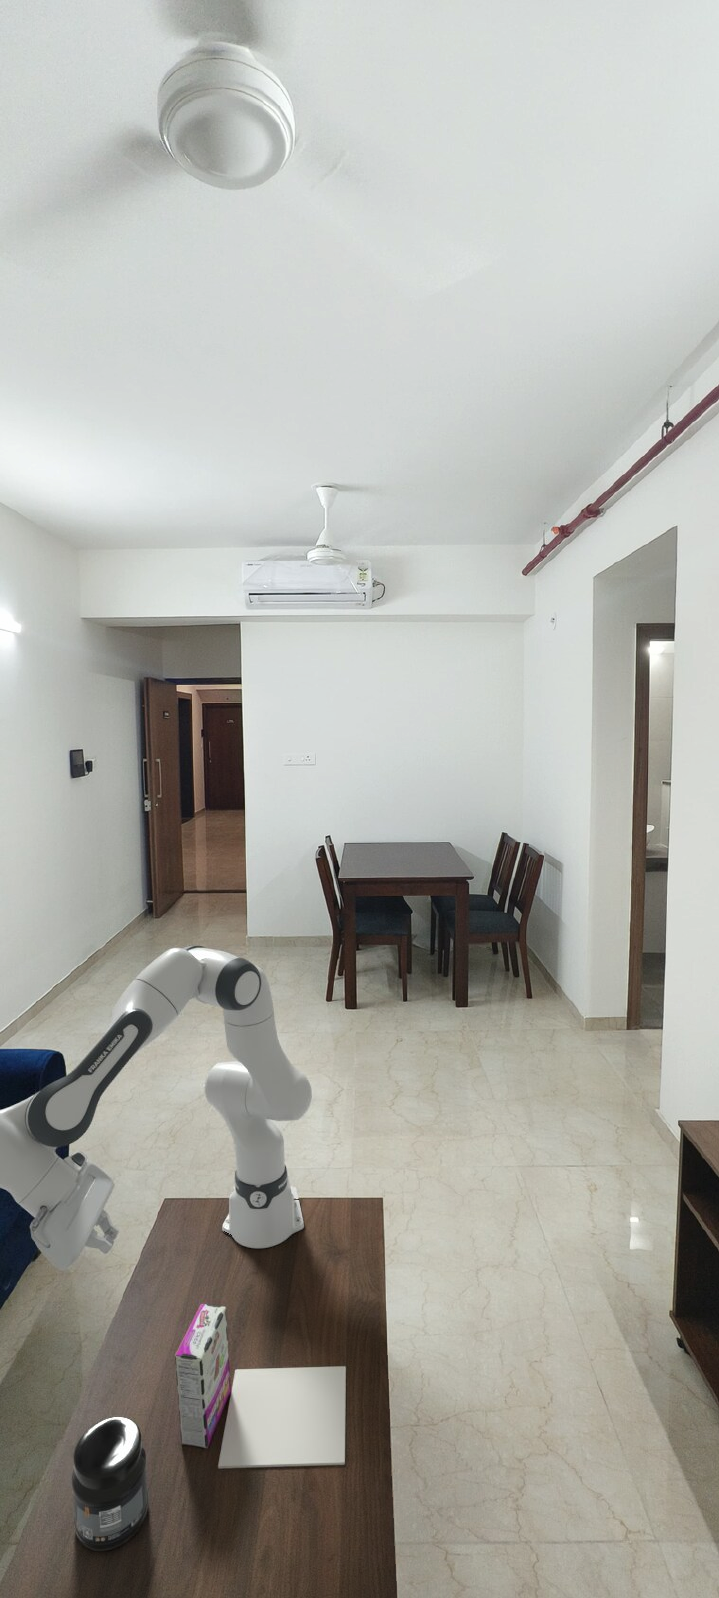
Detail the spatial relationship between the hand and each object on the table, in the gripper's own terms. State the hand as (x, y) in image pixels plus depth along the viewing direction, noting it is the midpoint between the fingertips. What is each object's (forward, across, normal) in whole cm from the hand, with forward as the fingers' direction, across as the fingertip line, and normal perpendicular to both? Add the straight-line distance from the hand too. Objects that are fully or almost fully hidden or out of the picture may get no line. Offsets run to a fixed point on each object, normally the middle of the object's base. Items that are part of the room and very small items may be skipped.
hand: (113, 1242), depth 131 cm
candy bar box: (+32, -4, +10) cm, 34 cm away
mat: (+41, -4, 0) cm, 41 cm away
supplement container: (+24, -20, +18) cm, 36 cm away
